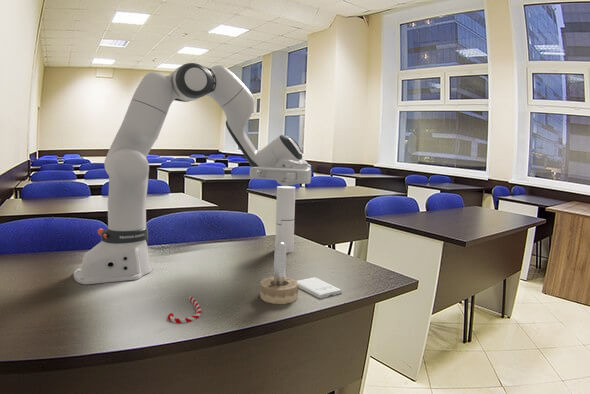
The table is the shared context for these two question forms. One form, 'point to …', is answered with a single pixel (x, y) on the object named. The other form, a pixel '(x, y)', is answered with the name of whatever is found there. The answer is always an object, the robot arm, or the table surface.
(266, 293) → the tan ring
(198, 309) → the candy cane
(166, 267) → the table surface
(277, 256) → the white peg
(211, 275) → the table surface
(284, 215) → the cylindrical container
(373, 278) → the table surface
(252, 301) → the table surface
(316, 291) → the external hard drive
